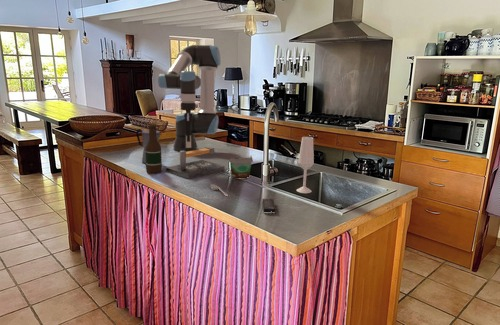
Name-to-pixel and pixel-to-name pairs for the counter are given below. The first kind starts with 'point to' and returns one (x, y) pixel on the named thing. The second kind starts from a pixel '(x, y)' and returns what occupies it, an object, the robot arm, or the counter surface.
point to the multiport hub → (268, 205)
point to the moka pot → (145, 140)
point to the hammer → (193, 153)
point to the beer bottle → (153, 152)
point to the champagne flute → (306, 160)
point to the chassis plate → (195, 169)
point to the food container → (240, 167)
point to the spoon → (217, 189)
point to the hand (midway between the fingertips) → (188, 147)
